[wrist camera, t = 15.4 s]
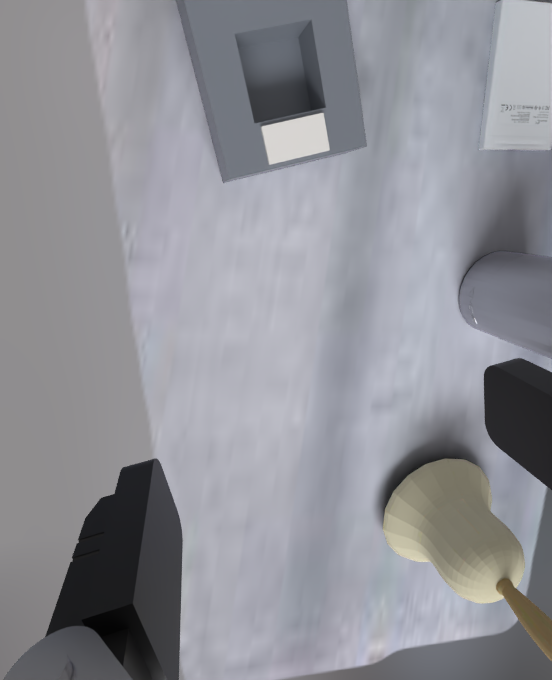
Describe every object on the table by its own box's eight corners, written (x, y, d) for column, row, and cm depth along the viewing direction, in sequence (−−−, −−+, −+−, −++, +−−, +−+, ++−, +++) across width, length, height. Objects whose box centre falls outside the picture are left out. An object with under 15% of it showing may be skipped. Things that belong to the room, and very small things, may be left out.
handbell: (501, 474, 56) (731, 660, 33) (438, 560, 58) (613, 793, 35) (420, 433, 51) (627, 621, 28) (354, 530, 53) (495, 780, 30)
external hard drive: (562, 13, 40) (540, 151, 44) (491, 5, 39) (474, 150, 42) (578, 5, 39) (553, 149, 43) (504, -3, 37) (485, 148, 41)
